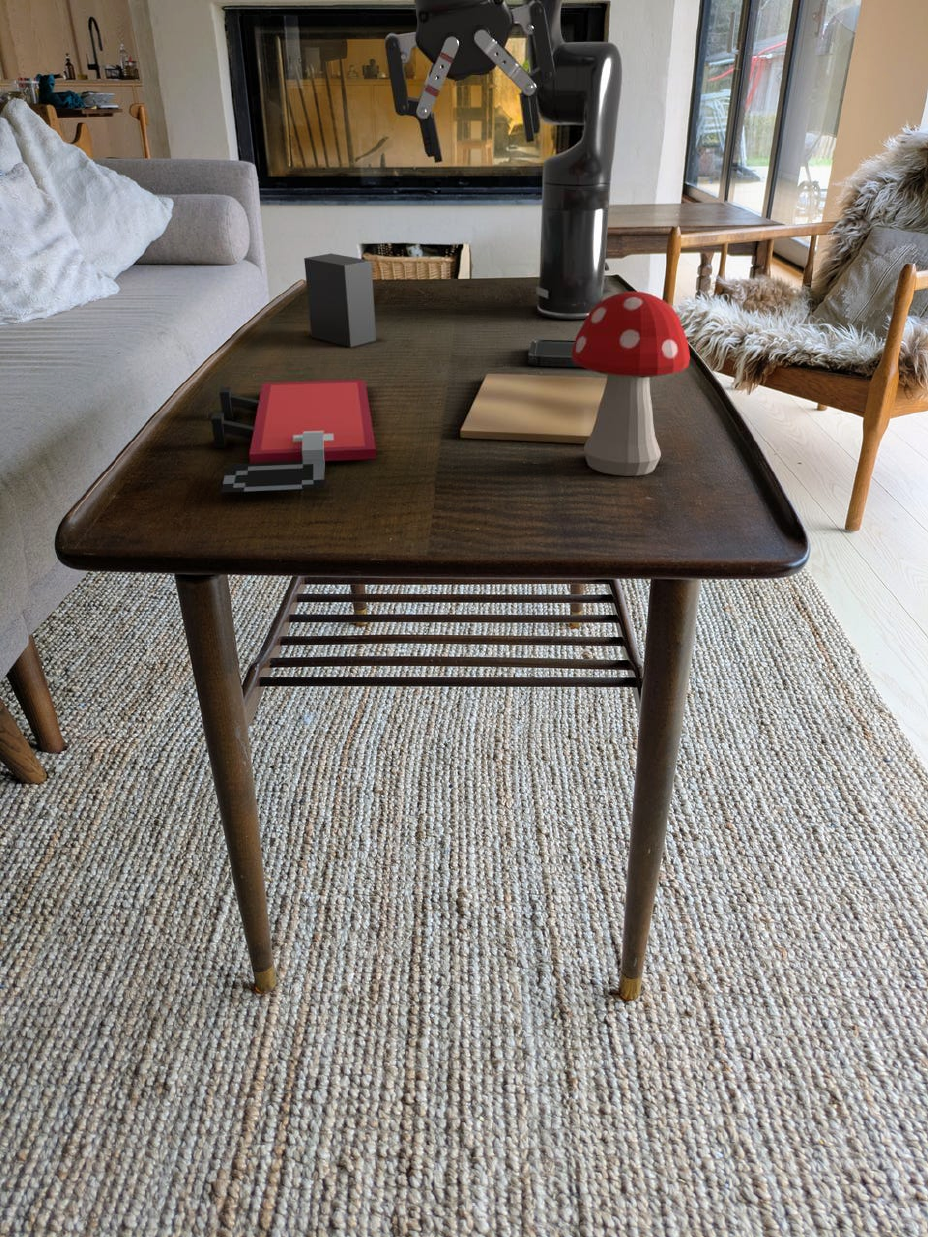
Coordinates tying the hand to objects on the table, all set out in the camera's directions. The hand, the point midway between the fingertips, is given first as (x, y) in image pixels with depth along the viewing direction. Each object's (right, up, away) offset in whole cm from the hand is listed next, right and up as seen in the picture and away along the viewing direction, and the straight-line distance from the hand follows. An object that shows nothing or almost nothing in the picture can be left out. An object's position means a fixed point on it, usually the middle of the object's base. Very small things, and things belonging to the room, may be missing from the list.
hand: (483, 150), depth 83 cm
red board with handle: (-18, -26, +5) cm, 32 cm away
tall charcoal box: (-18, -6, +37) cm, 42 cm away
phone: (+14, -11, +28) cm, 33 cm away
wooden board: (+8, -21, +12) cm, 25 cm away
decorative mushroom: (+12, -29, -1) cm, 32 cm away
